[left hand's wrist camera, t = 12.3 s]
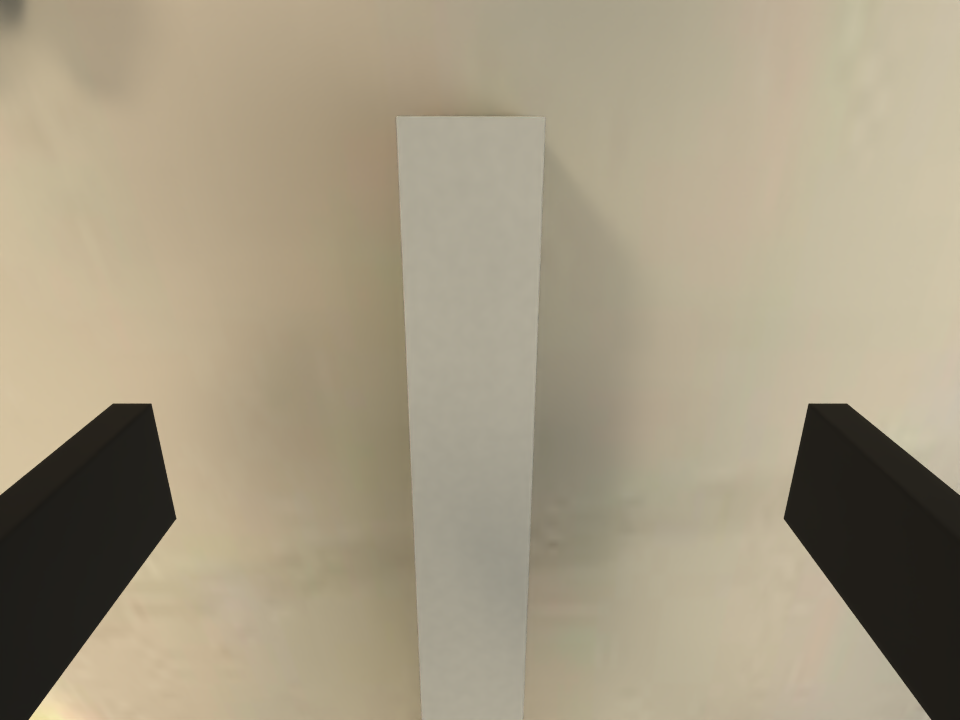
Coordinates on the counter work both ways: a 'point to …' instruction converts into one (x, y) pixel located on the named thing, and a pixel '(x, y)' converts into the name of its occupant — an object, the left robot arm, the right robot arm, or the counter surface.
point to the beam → (471, 398)
